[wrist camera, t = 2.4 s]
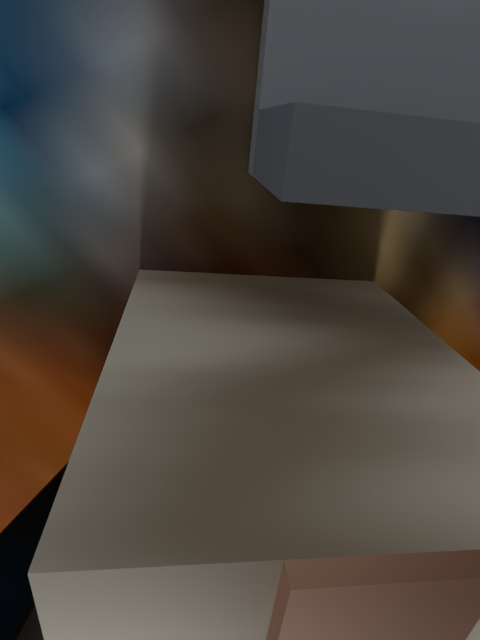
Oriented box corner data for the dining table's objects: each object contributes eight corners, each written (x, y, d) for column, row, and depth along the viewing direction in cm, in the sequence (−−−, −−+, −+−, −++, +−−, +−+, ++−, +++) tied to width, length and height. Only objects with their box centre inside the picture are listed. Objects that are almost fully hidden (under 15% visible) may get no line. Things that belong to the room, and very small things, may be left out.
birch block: (372, 280, 9) (703, 563, 3) (316, 499, 12) (428, 837, 6) (140, 268, 8) (15, 609, 2) (145, 504, 11) (97, 892, 5)
